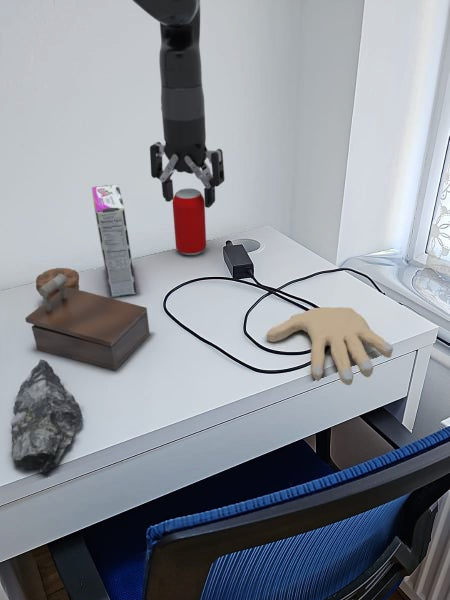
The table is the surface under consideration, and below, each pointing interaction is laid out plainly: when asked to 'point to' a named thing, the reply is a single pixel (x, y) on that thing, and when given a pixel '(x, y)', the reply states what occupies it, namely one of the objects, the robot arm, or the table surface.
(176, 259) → the table surface
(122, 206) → the candy bar box
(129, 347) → the brown wooden box
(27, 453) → the rock
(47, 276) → the artifact
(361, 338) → the hand model
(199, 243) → the beverage can
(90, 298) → the cover
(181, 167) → the robot arm
